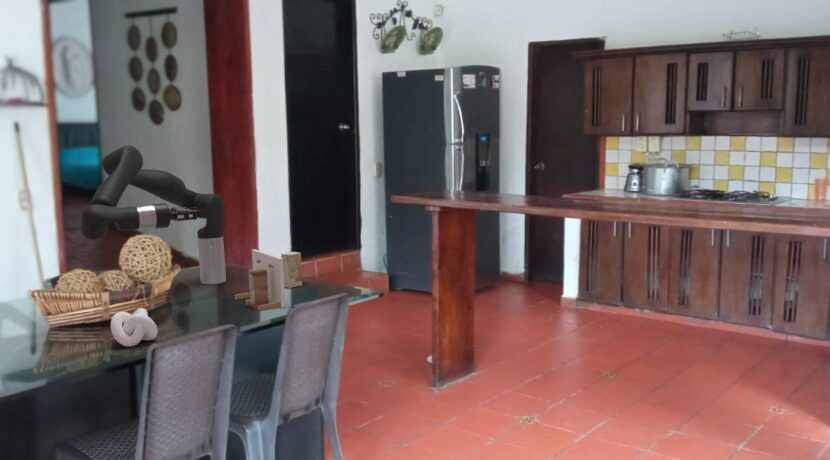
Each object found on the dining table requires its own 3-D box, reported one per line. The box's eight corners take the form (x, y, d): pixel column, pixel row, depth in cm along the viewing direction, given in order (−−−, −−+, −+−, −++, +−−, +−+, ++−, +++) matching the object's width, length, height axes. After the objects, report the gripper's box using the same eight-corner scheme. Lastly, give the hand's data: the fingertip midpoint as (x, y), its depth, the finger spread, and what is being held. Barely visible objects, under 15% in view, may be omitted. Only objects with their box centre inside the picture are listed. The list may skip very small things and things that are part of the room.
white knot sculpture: (112, 339, 219) (110, 308, 217) (157, 333, 223) (154, 303, 222) (112, 350, 208) (109, 318, 207) (158, 344, 212) (156, 312, 211)
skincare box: (290, 288, 276) (288, 255, 274) (281, 287, 279) (280, 254, 277) (303, 285, 281) (301, 252, 279) (294, 283, 284) (293, 251, 282)
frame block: (249, 306, 252) (247, 270, 250) (263, 304, 255) (261, 268, 253) (255, 309, 248) (253, 272, 247) (268, 306, 251) (266, 270, 249)
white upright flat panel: (233, 298, 263) (231, 252, 261) (257, 294, 268) (255, 249, 265) (260, 311, 245) (257, 262, 243) (285, 306, 250) (282, 258, 248)
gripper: (157, 206, 228) (210, 201, 237) (143, 202, 239) (195, 198, 248) (159, 231, 229) (212, 225, 238) (145, 226, 240) (196, 221, 250)
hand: (203, 211), depth 243 cm, fingers open, 8 cm apart
